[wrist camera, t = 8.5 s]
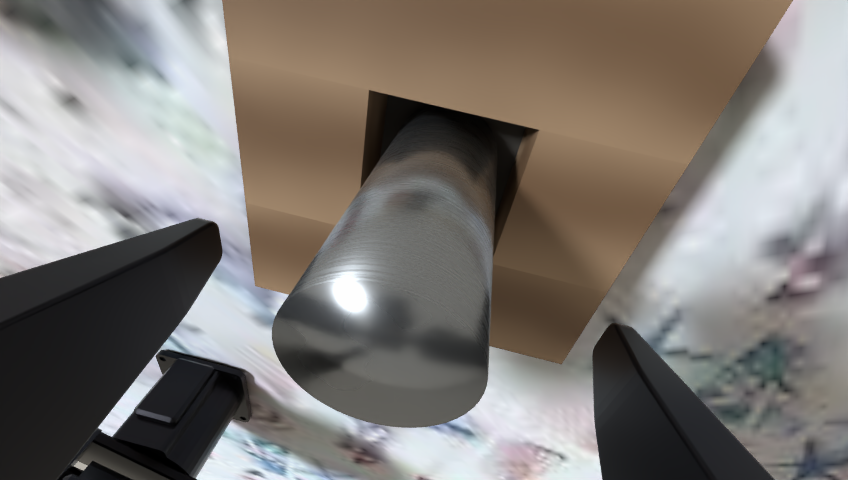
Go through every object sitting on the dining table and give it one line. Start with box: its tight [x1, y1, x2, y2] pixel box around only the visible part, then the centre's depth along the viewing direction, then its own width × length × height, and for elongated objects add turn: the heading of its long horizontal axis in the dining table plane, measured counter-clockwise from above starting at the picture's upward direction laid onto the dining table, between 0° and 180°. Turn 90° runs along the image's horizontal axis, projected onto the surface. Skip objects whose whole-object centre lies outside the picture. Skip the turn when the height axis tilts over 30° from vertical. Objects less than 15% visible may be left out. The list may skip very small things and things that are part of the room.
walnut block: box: [222, 0, 793, 364], centre depth 14 cm, size 14×14×4 cm
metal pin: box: [272, 105, 497, 428], centre depth 11 cm, size 4×4×10 cm
